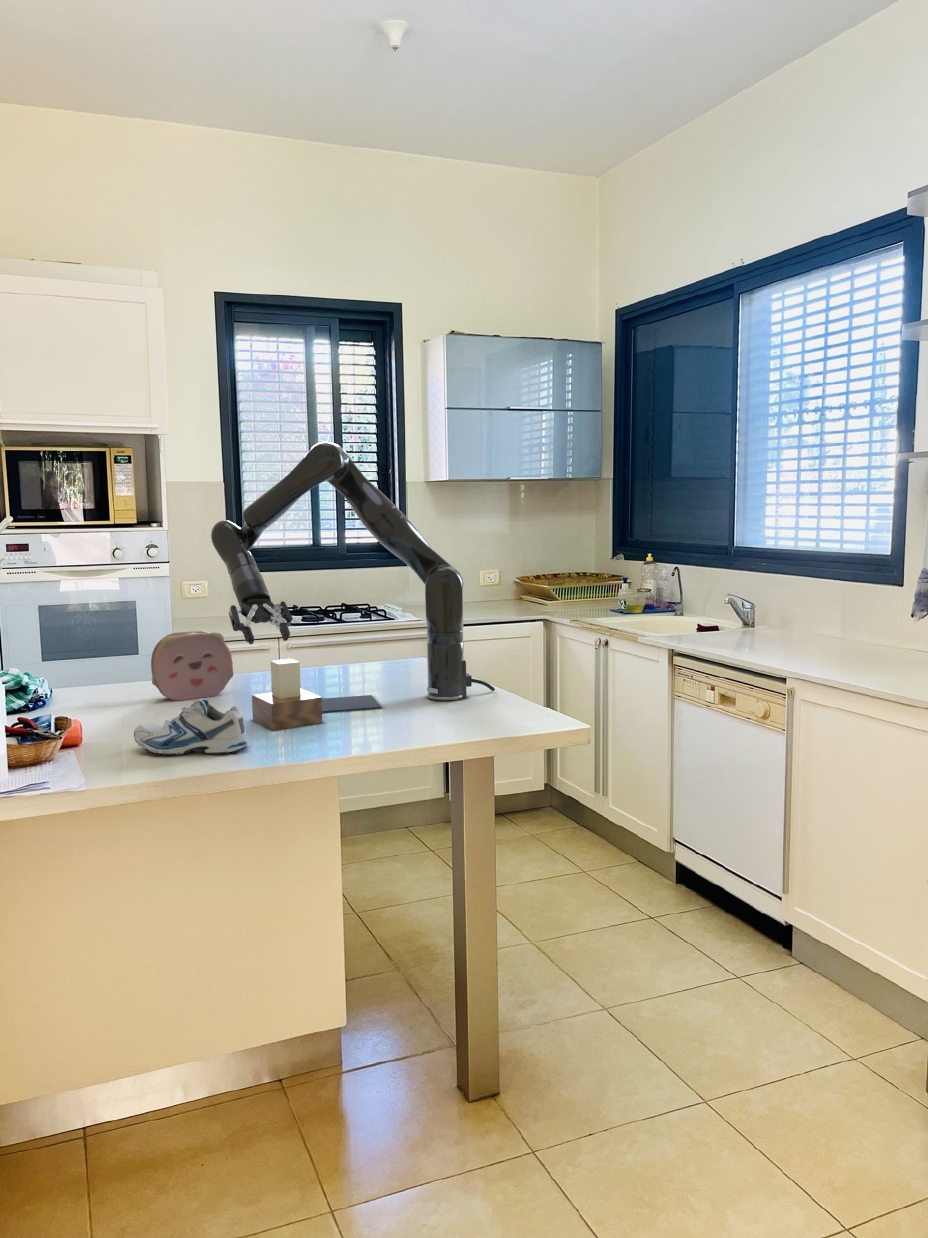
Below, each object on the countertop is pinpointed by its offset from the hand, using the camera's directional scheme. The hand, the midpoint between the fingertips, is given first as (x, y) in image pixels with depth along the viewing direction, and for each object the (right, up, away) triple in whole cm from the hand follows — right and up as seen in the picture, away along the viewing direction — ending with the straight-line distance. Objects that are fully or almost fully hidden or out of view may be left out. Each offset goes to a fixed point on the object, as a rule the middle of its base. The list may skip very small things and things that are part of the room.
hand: (269, 640), depth 219 cm
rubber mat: (+16, -16, +11) cm, 25 cm away
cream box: (+5, -13, -6) cm, 15 cm away
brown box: (+5, -18, -5) cm, 20 cm away
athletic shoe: (-10, -22, -28) cm, 37 cm away
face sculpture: (-25, -15, +23) cm, 37 cm away
